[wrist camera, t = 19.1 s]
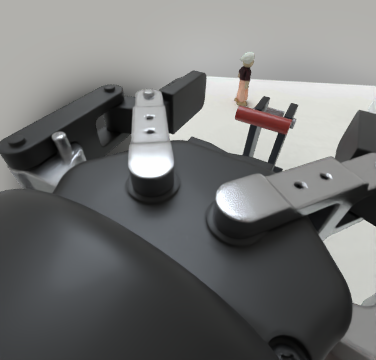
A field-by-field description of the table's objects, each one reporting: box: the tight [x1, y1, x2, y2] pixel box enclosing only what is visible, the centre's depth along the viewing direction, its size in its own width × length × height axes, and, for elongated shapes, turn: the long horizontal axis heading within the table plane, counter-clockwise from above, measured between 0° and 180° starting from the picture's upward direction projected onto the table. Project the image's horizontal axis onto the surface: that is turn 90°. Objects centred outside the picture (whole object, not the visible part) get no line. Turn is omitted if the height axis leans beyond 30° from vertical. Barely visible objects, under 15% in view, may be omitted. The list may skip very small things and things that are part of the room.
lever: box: [235, 106, 292, 135], centre depth 29 cm, size 12×6×2 cm, turn 151°
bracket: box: [242, 96, 298, 173], centre depth 37 cm, size 10×8×15 cm
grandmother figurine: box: [234, 52, 255, 106], centre depth 61 cm, size 8×4×13 cm, turn 17°
